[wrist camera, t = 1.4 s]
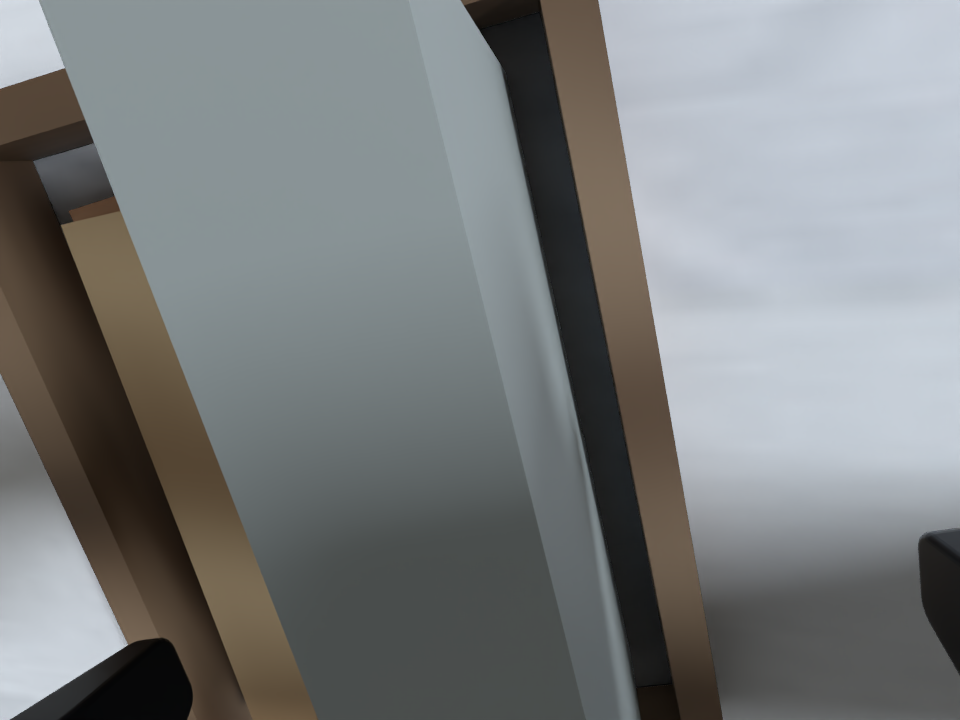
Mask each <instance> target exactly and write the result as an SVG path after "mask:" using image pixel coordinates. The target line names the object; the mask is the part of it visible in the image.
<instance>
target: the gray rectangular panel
mask: <svg viewBox="0 0 960 720" xmlns="http://www.w3.org/2000/svg"><path fill="white" fill-rule="evenodd" d="M39 2H40V5H41V7H42V10H43V12H44V15H45V17H46V20H47V23H48V25H49V28H50V30H51V33H52V35H53V38H54V41H55V43H56V46H57V48H58V51H59V53H60V56H61V59H62V61H63V64H64V66H65V69H66V71H67V74H68V77H69V79H70V82H71V84H72V87H73V90H74V92H75V95H76V97H77V100H78V102H79V105H80V108H81V110H82V113H83V115H84V118H85V120H86V123H87V126H88V128H89V131H90V133H91V136H92V138H93V141H94V144H95V146H96V149H97V151H98V154H99V156H100V159H101V162H102V164H103V167H104V169H105V172H106V174H107V177H108V180H109V182H110V185H111V187H112V190H113V193H114V195H115V198H116V200H117V203H118V205H119V208H120V211H121V213H122V216H123V218H124V221H125V223H126V226H127V229H128V231H129V234H130V236H131V239H132V241H133V244H134V247H135V249H136V252H137V254H138V257H139V259H140V262H141V265H142V267H143V270H144V272H145V275H146V277H147V280H148V283H149V285H150V288H151V290H152V293H153V295H154V298H155V301H156V303H157V306H158V308H159V311H160V314H161V316H162V319H163V321H164V324H165V326H166V329H167V332H168V334H169V337H170V339H171V342H172V344H173V347H174V350H175V352H176V355H177V357H178V360H179V362H180V365H181V368H182V370H183V373H184V375H185V378H186V380H187V383H188V386H189V388H190V391H191V393H192V396H193V398H194V401H195V404H196V406H197V409H198V411H199V414H200V417H201V419H202V422H203V424H204V427H205V429H206V432H207V435H208V437H209V440H210V442H211V445H212V447H213V450H214V453H215V455H216V458H217V460H218V463H219V465H220V468H221V471H222V473H223V476H224V478H225V481H226V483H227V486H228V489H229V491H230V494H231V496H232V499H233V501H234V504H235V507H236V509H237V512H238V514H239V517H240V520H241V522H242V525H243V527H244V530H245V532H246V535H247V538H248V540H249V543H250V545H251V548H252V550H253V553H254V556H255V558H256V561H257V563H258V566H259V568H260V571H261V574H262V576H263V579H264V581H265V584H266V586H267V589H268V592H269V594H270V597H271V599H272V602H273V604H274V607H275V610H276V612H277V615H278V617H279V620H280V622H281V625H282V628H283V630H284V633H285V635H286V638H287V641H288V643H289V646H290V648H291V651H292V653H293V656H294V659H295V661H296V664H297V666H298V669H299V671H300V674H301V677H302V679H303V682H304V684H305V687H306V689H307V692H308V695H309V697H310V700H311V702H312V705H313V707H314V710H315V713H316V715H317V718H318V720H641V716H640V710H639V703H638V696H637V690H636V683H635V677H634V670H633V663H632V657H631V653H630V648H629V643H628V639H627V634H626V629H625V625H624V620H623V615H622V611H621V606H620V602H619V597H618V592H617V588H616V583H615V578H614V574H613V569H612V564H611V560H610V555H609V550H608V546H607V541H606V536H605V532H604V527H603V523H602V518H601V513H600V509H599V504H598V499H597V495H596V490H595V485H594V481H593V476H592V471H591V467H590V462H589V457H588V453H587V448H586V443H585V439H584V434H583V430H582V425H581V420H580V416H579V411H578V406H577V402H576V397H575V392H574V388H573V383H572V378H571V374H570V369H569V364H568V360H567V355H566V351H565V346H564V341H563V337H562V332H561V327H560V323H559V318H558V313H557V309H556V304H555V299H554V295H553V290H552V285H551V281H550V276H549V272H548V267H547V262H546V258H545V253H544V248H543V244H542V239H541V234H540V230H539V225H538V220H537V216H536V211H535V206H534V202H533V197H532V192H531V188H530V183H529V179H528V174H527V169H526V165H525V160H524V155H523V151H522V146H521V141H520V137H519V132H518V127H517V123H516V118H515V113H514V109H513V104H512V100H511V95H510V90H509V86H508V81H507V76H506V73H505V71H504V69H503V68H502V66H501V65H500V63H499V61H498V60H497V58H496V57H495V55H494V53H493V52H492V50H491V49H490V47H489V45H488V44H487V42H486V41H485V39H484V37H483V36H482V34H481V33H480V31H479V29H478V28H477V26H476V25H475V23H474V21H473V20H472V18H471V16H470V15H469V13H468V12H467V10H466V8H465V7H464V5H463V4H462V2H461V0H39Z"/></svg>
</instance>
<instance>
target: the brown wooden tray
mask: <svg viewBox="0 0 960 720" xmlns="http://www.w3.org/2000/svg"><path fill="white" fill-rule="evenodd" d="M461 2H462V4H463V5H464V7H465V8H466V10H467V12H468V13H469V15H470V16H471V18H472V20H473V21H474V23H475V25H476V26H477V28H478V29H483V28H486V27H489V26H493V25H496V24H500V23H503V22H506V21H510V20H513V19H517V18H520V17H523V16H527V15H530V14H534V13H537V12H540V14H541V19H542V24H543V29H544V34H545V39H546V44H547V50H548V55H549V60H550V65H551V70H552V75H553V80H554V85H555V90H556V95H557V100H558V105H559V111H560V116H561V121H562V126H563V131H564V136H565V141H566V146H567V151H568V156H569V161H570V166H571V171H572V177H573V182H574V187H575V192H576V197H577V202H578V207H579V212H580V217H581V222H582V227H583V232H584V238H585V243H586V248H587V253H588V258H589V263H590V268H591V273H592V278H593V283H594V288H595V293H596V299H597V304H598V309H599V314H600V319H601V324H602V329H603V334H604V339H605V344H606V349H607V354H608V359H609V365H610V370H611V375H612V380H613V385H614V390H615V395H616V400H617V405H618V410H619V415H620V420H621V426H622V431H623V436H624V441H625V446H626V451H627V456H628V461H629V466H630V471H631V476H632V481H633V486H634V492H635V497H636V502H637V507H638V512H639V517H640V522H641V527H642V532H643V537H644V542H645V547H646V553H647V558H648V563H649V568H650V573H651V578H652V583H653V588H654V593H655V598H656V603H657V608H658V614H659V619H660V624H661V629H662V634H663V639H664V644H665V649H666V654H667V659H668V664H669V669H670V674H671V680H672V684H669V685H660V686H650V687H641V688H636V690H637V696H638V703H639V710H640V716H641V720H723V717H722V711H721V705H720V700H719V694H718V688H717V682H716V677H715V671H714V665H713V659H712V654H711V648H710V642H709V636H708V631H707V625H706V619H705V613H704V608H703V602H702V596H701V590H700V585H699V579H698V573H697V567H696V562H695V556H694V550H693V544H692V538H691V533H690V527H689V521H688V515H687V510H686V504H685V498H684V492H683V487H682V481H681V475H680V469H679V464H678V458H677V452H676V446H675V441H674V435H673V429H672V423H671V418H670V412H669V406H668V400H667V395H666V389H665V383H664V377H663V372H662V366H661V360H660V354H659V348H658V343H657V337H656V331H655V325H654V320H653V314H652V308H651V302H650V297H649V291H648V285H647V279H646V274H645V268H644V262H643V256H642V251H641V245H640V239H639V233H638V228H637V222H636V216H635V210H634V205H633V199H632V193H631V187H630V182H629V176H628V170H627V164H626V158H625V153H624V147H623V141H622V135H621V130H620V124H619V118H618V112H617V107H616V101H615V95H614V89H613V84H612V78H611V72H610V66H609V61H608V55H607V49H606V43H605V38H604V32H603V26H602V20H601V15H600V9H599V3H598V0H461ZM91 143H94V141H93V138H92V136H91V133H90V131H89V128H88V126H87V123H86V120H85V118H84V115H83V113H82V110H81V108H80V105H79V102H78V100H77V97H76V95H75V92H74V90H73V87H72V84H71V82H70V79H69V77H68V74H67V71H66V69H65V68H64V69H61V70H58V71H55V72H52V73H49V74H45V75H42V76H39V77H36V78H33V79H30V80H27V81H24V82H20V83H17V84H14V85H11V86H8V87H5V88H2V89H0V373H1V375H2V377H3V380H4V382H5V384H6V386H7V388H8V390H9V392H10V394H11V397H12V399H13V401H14V403H15V405H16V407H17V409H18V411H19V414H20V416H21V418H22V420H23V422H24V424H25V426H26V428H27V431H28V433H29V435H30V437H31V439H32V441H33V443H34V445H35V448H36V450H37V452H38V454H39V456H40V458H41V460H42V462H43V465H44V467H45V469H46V471H47V473H48V475H49V477H50V479H51V482H52V484H53V486H54V488H55V490H56V492H57V494H58V496H59V499H60V501H61V503H62V505H63V507H64V509H65V511H66V513H67V516H68V518H69V520H70V522H71V524H72V526H73V528H74V530H75V533H76V535H77V537H78V539H79V541H80V543H81V545H82V547H83V550H84V552H85V554H86V556H87V558H88V560H89V562H90V564H91V567H92V569H93V571H94V573H95V575H96V577H97V579H98V581H99V584H100V586H101V588H102V590H103V592H104V594H105V596H106V598H107V601H108V603H109V605H110V607H111V609H112V611H113V613H114V615H115V618H116V620H117V622H118V624H119V626H120V628H121V630H122V632H123V635H124V637H125V639H126V641H127V643H128V645H129V644H131V643H133V642H136V641H139V640H146V639H153V638H161V637H162V638H166V639H168V640H169V641H170V642H172V643H173V645H174V647H175V649H176V651H177V654H178V656H179V658H180V660H181V662H182V665H183V667H184V669H185V671H186V674H187V676H188V678H189V680H190V683H191V685H192V689H193V703H192V708H191V711H190V714H189V716H188V719H187V720H253V719H252V717H251V714H250V712H249V709H248V706H247V704H246V701H245V699H244V696H243V694H242V691H241V688H240V686H239V683H238V681H237V678H236V675H235V673H234V670H233V668H232V665H231V663H230V660H229V657H228V655H227V652H226V650H225V647H224V645H223V642H222V639H221V637H220V634H219V632H218V629H217V627H216V624H215V621H214V619H213V616H212V614H211V611H210V609H209V606H208V603H207V601H206V598H205V596H204V593H203V590H202V588H201V585H200V583H199V580H198V578H197V575H196V572H195V570H194V567H193V565H192V562H191V560H190V557H189V554H188V552H187V549H186V547H185V544H184V542H183V539H182V536H181V534H180V531H179V529H178V526H177V524H176V521H175V518H174V516H173V513H172V511H171V508H170V505H169V503H168V500H167V498H166V495H165V493H164V490H163V487H162V485H161V482H160V480H159V477H158V475H157V472H156V469H155V467H154V464H153V462H152V459H151V457H150V454H149V451H148V449H147V446H146V444H145V441H144V439H143V436H142V433H141V431H140V428H139V426H138V423H137V420H136V418H135V415H134V413H133V410H132V408H131V405H130V402H129V400H128V397H127V395H126V392H125V390H124V387H123V384H122V382H121V379H120V377H119V374H118V372H117V369H116V366H115V364H114V361H113V359H112V356H111V354H110V351H109V348H108V346H107V343H106V341H105V338H104V335H103V333H102V330H101V328H100V325H99V323H98V320H97V317H96V315H95V312H94V310H93V307H92V305H91V302H90V299H89V297H88V294H87V292H86V289H85V287H84V284H83V281H82V279H81V276H80V274H79V271H78V269H77V266H76V263H75V261H74V259H73V256H72V254H71V251H70V249H69V247H68V244H67V242H66V239H65V237H64V235H63V232H62V230H61V227H60V225H59V223H58V220H57V218H56V215H55V213H54V211H53V208H52V206H51V203H50V201H49V199H48V196H47V194H46V191H45V189H44V187H43V184H42V182H41V179H40V177H39V175H38V172H37V170H36V167H35V165H34V163H33V160H37V159H40V158H43V157H47V156H50V155H54V154H57V153H60V152H64V151H67V150H71V149H74V148H77V147H81V146H84V145H88V144H91Z"/></svg>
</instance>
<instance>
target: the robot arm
mask: <svg viewBox="0 0 960 720" xmlns="http://www.w3.org/2000/svg"><path fill="white" fill-rule="evenodd" d="M918 553H919V568H920V584H921V598H922V603H923V607H924V610H925V613H926V616H927V618H928V620H929V622H930V624H931V626H932V628H933V630H934V631H935V633H936V635H937V637H938V638H939V640H940V642H941V643H942V645H943V647H944V649H945V650H946V652H947V654H948V656H949V657H950V659H951V661H952V663H953V664H954V666H955V668H956V670H957V671H958V673H959V675H960V528H955V529H948V530H940V531H933V532H927V533H924V534H923V535H922V536H921V537H920V539H919V543H918ZM192 703H193V689H192V685H191V683H190V680H189V678H188V676H187V674H186V671H185V669H184V667H183V665H182V662H181V660H180V658H179V656H178V654H177V651H176V649H175V647H174V645H173V643H172V642H170V641H169V640H168V639H166V638H162V637H161V638H153V639H146V640H139V641H136V642H133V643H131V644H129V645H128V646H126V647H125V648H123V649H121V650H120V651H118V652H117V653H115V654H114V655H112V656H110V657H109V658H107V659H106V660H104V661H102V662H101V663H99V664H98V665H96V666H94V667H93V668H91V669H90V670H88V671H87V672H85V673H83V674H82V675H80V676H79V677H77V678H75V679H74V680H72V681H71V682H69V683H68V684H66V685H64V686H63V687H61V688H60V689H58V690H56V691H55V692H53V693H52V694H50V695H48V696H47V697H45V698H44V699H42V700H41V701H39V702H37V703H36V704H34V705H33V706H31V707H29V708H28V709H26V710H25V711H23V712H21V713H20V714H18V715H17V716H15V717H14V718H12V719H10V720H187V719H188V716H189V714H190V711H191V708H192Z"/></svg>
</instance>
